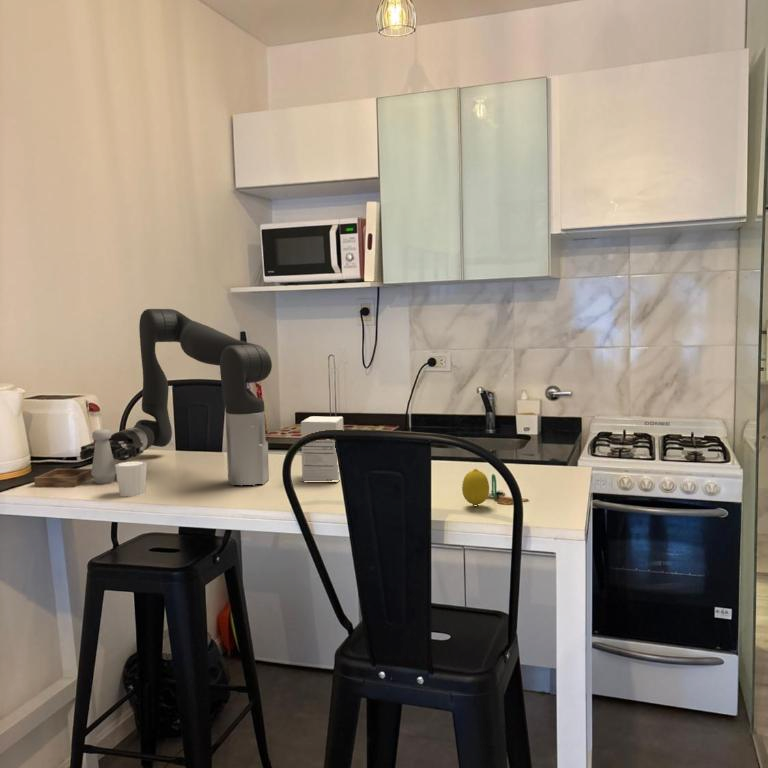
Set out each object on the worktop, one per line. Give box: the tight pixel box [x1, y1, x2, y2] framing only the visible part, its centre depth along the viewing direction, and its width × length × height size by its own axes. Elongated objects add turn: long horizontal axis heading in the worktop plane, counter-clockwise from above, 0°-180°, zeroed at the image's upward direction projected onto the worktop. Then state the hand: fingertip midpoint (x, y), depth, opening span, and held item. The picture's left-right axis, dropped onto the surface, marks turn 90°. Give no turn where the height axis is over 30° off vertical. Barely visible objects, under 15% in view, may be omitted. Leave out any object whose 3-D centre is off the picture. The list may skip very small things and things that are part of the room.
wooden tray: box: [33, 468, 93, 488], centre depth 180 cm, size 10×10×2 cm
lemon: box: [461, 468, 490, 506], centre depth 151 cm, size 6×6×8 cm
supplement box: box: [300, 415, 344, 482], centre depth 178 cm, size 9×9×15 cm
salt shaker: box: [91, 428, 117, 485], centre depth 179 cm, size 6×6×13 cm
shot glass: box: [115, 460, 147, 497], centre depth 167 cm, size 7×7×7 cm
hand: (99, 455), depth 177 cm, fingers open, 8 cm apart
